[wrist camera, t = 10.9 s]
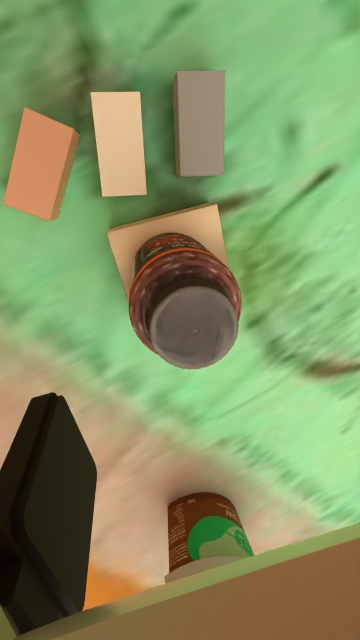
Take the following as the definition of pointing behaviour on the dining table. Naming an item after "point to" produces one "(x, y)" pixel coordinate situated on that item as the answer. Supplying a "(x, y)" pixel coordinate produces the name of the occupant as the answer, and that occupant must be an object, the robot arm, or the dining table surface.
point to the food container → (203, 535)
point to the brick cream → (119, 142)
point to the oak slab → (188, 221)
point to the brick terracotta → (41, 165)
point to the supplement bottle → (183, 301)
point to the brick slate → (199, 123)
